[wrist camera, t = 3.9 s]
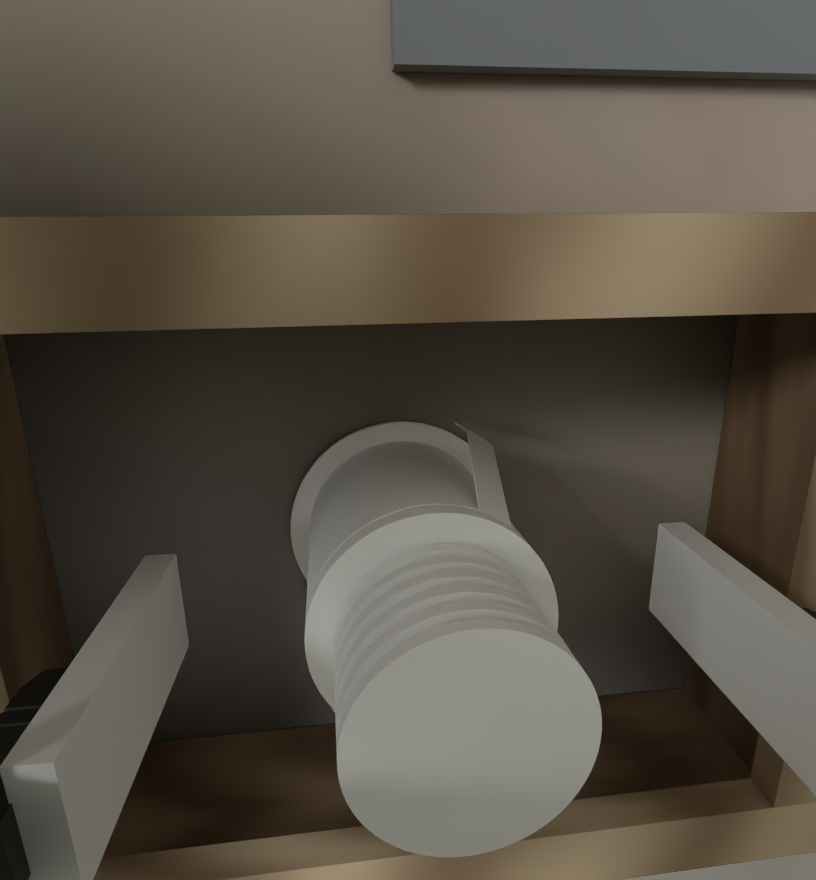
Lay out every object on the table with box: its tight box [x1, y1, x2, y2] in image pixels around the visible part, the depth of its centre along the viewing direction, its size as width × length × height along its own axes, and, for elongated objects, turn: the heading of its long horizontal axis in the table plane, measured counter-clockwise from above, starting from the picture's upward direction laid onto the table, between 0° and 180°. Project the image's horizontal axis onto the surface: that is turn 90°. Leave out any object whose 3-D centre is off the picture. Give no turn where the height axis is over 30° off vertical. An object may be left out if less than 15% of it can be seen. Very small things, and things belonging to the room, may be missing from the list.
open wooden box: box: [0, 212, 816, 880], centre depth 16 cm, size 24×18×6 cm
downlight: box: [291, 421, 602, 857], centre depth 15 cm, size 8×7×10 cm
